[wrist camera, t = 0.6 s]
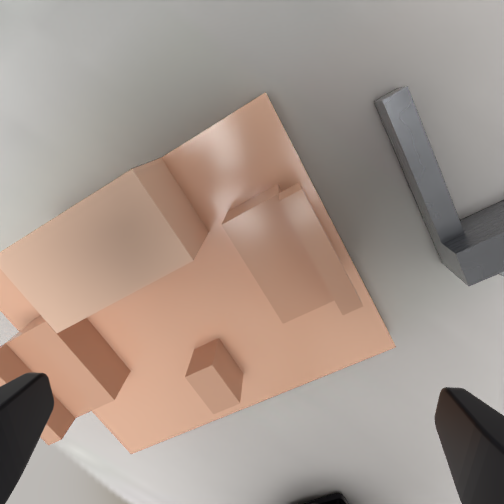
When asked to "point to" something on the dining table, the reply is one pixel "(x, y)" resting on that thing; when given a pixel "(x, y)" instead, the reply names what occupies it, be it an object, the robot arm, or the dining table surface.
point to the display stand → (187, 289)
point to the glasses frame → (442, 197)
